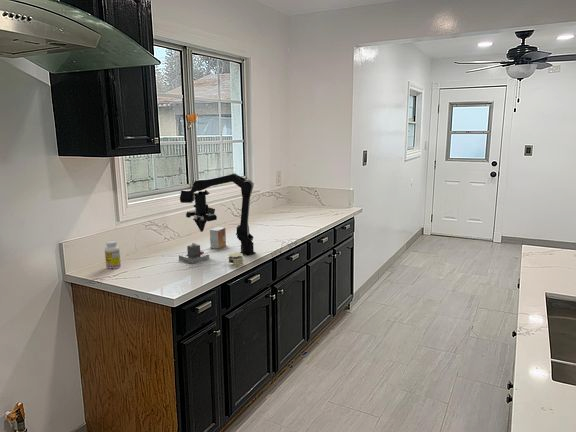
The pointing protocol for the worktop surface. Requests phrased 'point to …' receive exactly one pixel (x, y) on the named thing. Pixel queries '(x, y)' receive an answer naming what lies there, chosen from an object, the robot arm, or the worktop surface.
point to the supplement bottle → (112, 255)
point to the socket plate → (194, 258)
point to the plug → (193, 250)
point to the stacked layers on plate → (236, 259)
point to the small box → (217, 237)
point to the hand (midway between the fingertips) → (201, 231)
